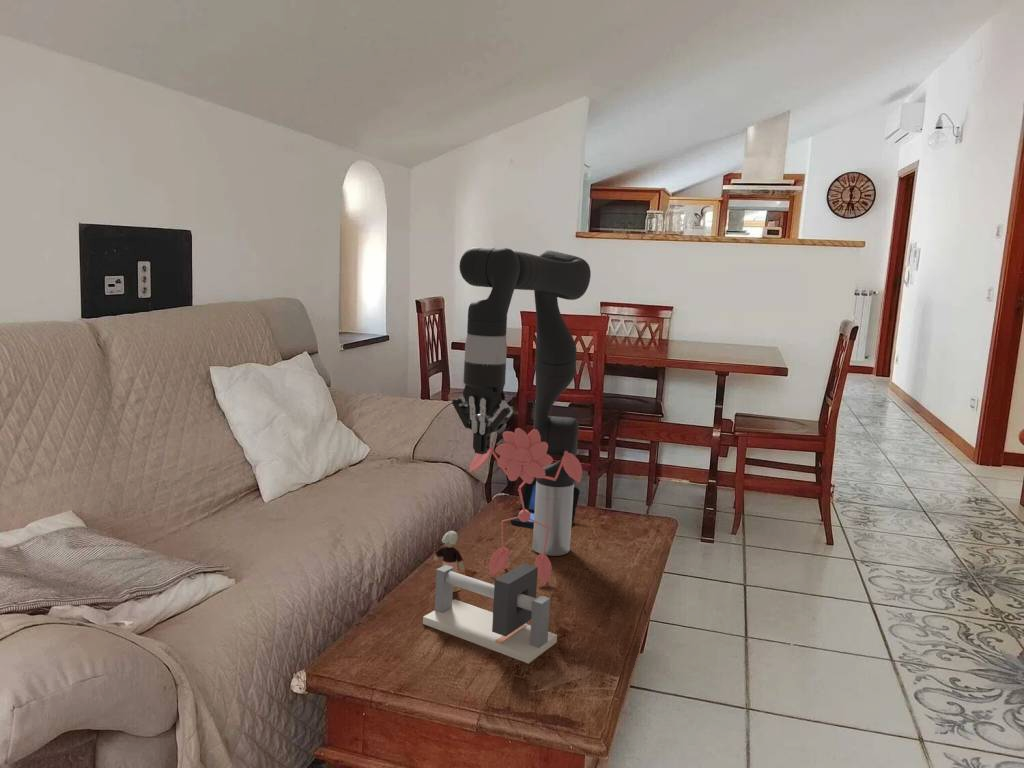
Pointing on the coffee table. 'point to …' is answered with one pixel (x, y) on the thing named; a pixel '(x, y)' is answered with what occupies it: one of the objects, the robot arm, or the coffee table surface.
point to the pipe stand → (488, 618)
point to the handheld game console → (530, 504)
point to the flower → (525, 461)
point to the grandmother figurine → (450, 554)
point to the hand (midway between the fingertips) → (480, 452)
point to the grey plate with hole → (513, 598)
